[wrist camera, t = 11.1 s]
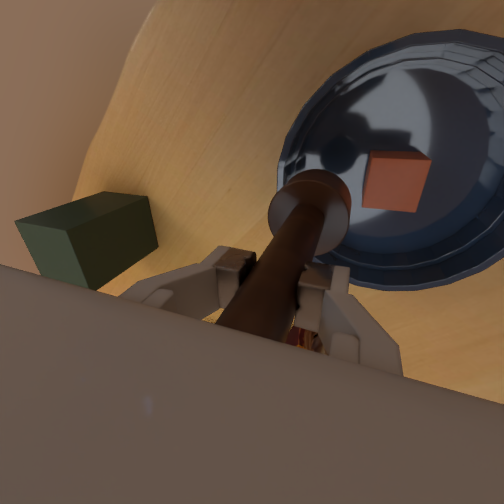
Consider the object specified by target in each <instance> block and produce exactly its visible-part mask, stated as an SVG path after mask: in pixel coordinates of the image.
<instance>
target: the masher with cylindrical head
mask: <svg viewBox="0 0 504 504" xmlns="http://www.w3.org/2000/svg"><path fill="white" fill-rule="evenodd" d="M351 206H352V199H351V194H350V191H349V189H348V187H347V185H346V184H345V182H344V181H343V180H342V179H341V178H340V177H338V176H337V175H336V174H334V173H332V172H330V171H327V170H323V169H309V170H305V171H302V172H300V173H298V174H296V175H295V176H293V177H292V178H291V179H290V180H289V181H288V182H287V183H286V184H285V185H284V186H283V187H282V188H281V189H280V190H279V191H278V192H277V193H276V194H275V196H274V197H273V199H272V201H271V203H270V206H269V210H268V223H269V227H270V230H271V232H272V234H273V236H274V238H273V239H272V240H271V242H270V243H269V245H268V246H267V248H266V249H265V251H264V252H263V254H262V255H261V257H260V258H259V260H258V261H257V262H256V264H255V265H254V267H253V268H252V270H251V271H250V273H249V274H248V276H247V277H246V279H245V280H244V282H243V283H242V284H241V286H240V287H239V289H238V290H237V292H236V293H235V295H234V296H233V298H232V299H231V301H230V302H229V304H228V305H227V306H226V308H225V309H224V311H223V312H222V314H221V315H220V317H219V318H218V320H217V321H216V323H215V324H217V325H220V326H224V327H227V328H231V329H235V330H238V331H242V332H245V333H249V334H253V335H256V336H260V337H263V338H267V339H270V340H274V341H278V342H281V343H285V342H286V339H287V336H288V333H289V330H290V327H291V324H292V321H293V318H294V315H295V312H296V309H297V306H298V302H297V301H296V298H297V288H298V282H299V279H300V276H301V274H302V272H304V266H305V263H306V261H309V262H312V260H313V257H314V256H317V255H322V254H325V253H327V252H329V251H331V250H333V249H334V248H336V247H337V246H338V245H339V244H340V243H341V242H342V241H343V239H344V238H345V236H346V234H347V232H348V228H349V223H350V214H351Z"/></svg>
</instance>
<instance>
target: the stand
mask: <svg viewBox="0 0 504 504" xmlns="http://www.w3.org/2000/svg"><path fill="white" fill-rule="evenodd" d="M15 224H16V226H17V228H18V230H19V232H20V234H21V236H22V238H23V240H24V242H25V244H26V246H27V248H28V250H29V252H30V254H31V256H32V258H33V260H34V262H35V264H36V266H37V268H38V270H39V272H40V274H41V276H44V277H48V278H52V279H55V280H59V281H62V282H66V283H70V284H73V285H77V286H80V287H84V288H88V289H91V290H95V291H96V290H98V289H99V288H101V287H102V286H104V285H105V284H106V283H108V282H109V281H111V280H112V279H114V278H115V277H117V276H118V275H119V274H121V273H122V272H124V271H125V270H127V269H128V268H130V267H131V266H132V265H134V264H135V263H137V262H138V261H140V260H141V259H142V258H144V257H145V256H147V255H148V254H150V253H151V252H153V251H154V250H155V249H157V248H158V243H157V239H156V234H155V229H154V225H153V220H152V216H151V211H150V206H149V202H148V197H147V196H139V195H130V194H121V193H113V192H104V191H103V192H100V193H97V194H94V195H91V196H88V197H85V198H82V199H79V200H76V201H73V202H70V203H67V204H64V205H61V206H58V207H55V208H52V209H50V210H46V211H43V212H40V213H37V214H34V215H31V216H28V217H25V218H22V219H19V220H16V221H15Z"/></svg>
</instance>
